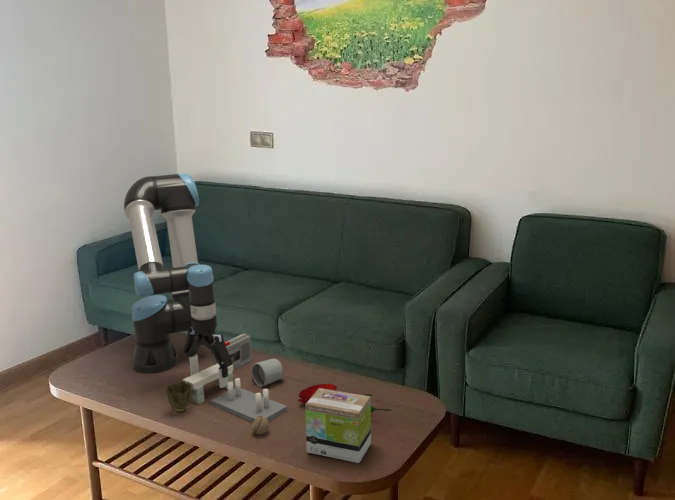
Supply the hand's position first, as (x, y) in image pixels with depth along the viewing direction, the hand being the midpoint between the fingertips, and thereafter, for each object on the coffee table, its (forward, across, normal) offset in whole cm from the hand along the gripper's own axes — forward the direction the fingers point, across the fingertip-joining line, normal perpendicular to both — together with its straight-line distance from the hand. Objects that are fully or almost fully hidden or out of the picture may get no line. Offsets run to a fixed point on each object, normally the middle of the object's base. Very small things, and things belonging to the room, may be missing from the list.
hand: (209, 380), depth 216 cm
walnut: (+5, +30, -7) cm, 31 cm away
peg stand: (+4, +17, +1) cm, 17 cm away
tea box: (+5, +53, -1) cm, 53 cm away
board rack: (+4, 0, 0) cm, 4 cm away
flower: (+5, +42, +15) cm, 45 cm away
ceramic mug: (+4, +8, +16) cm, 19 cm away
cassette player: (+4, -8, +17) cm, 20 cm away
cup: (+5, +2, -13) cm, 14 cm away
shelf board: (-1, 0, 0) cm, 1 cm away
